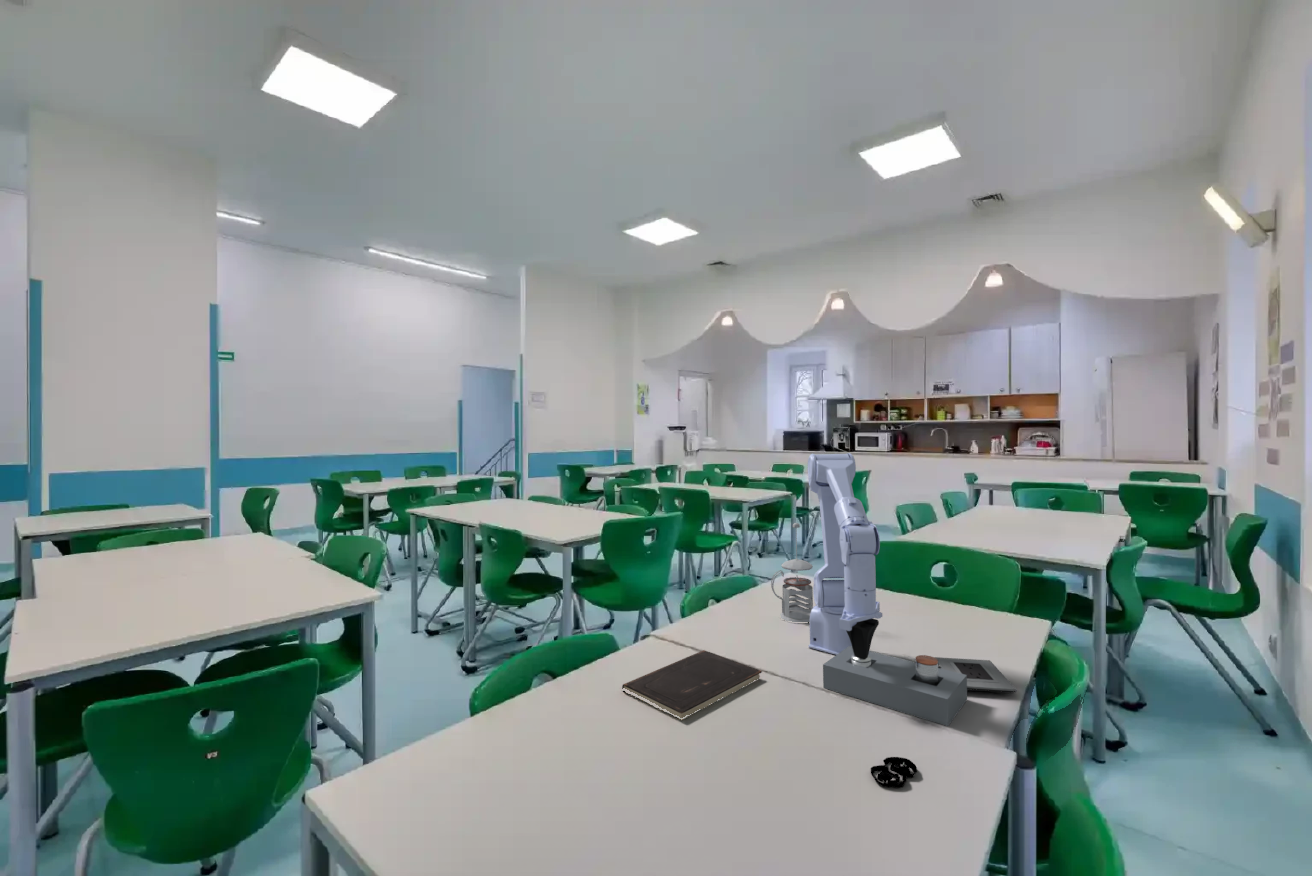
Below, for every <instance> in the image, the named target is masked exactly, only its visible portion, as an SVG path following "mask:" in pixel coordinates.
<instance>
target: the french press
mask: <svg viewBox="0 0 1312 876" xmlns="http://www.w3.org/2000/svg"><path fill="white" fill-rule="evenodd" d="M792 528H794V529H795V552H796V553H795V554H796V555H795V556H796V557H795V558H794V559H790V560H786V561H784V562H783V563H781V567H782V569H785V570H789V571H796V572H798V571H809V570H812V569H813V564H811V562H809V561H806V560H804V559H799V558H798V544H797V543H798V541H797V539H798V538H797V535H798V533H797V530H798V529H799V528H801V525H800V523H799V522H794V523H793V524H792ZM780 574H781V577H783V578H784V575H785V572H783V570H778V571H776V572H775V573H774V574H773V575H772V578H771V581H770V583H771V584H770V585H771V591H772V593H773V594H774V596H775V597H777V598H778V599H780V600H781V613H780V614H779V615H780V616H781V618H782V619H784V620H786V621H792V622H810V614H811V610H812V609H813V607H814V594H813V586H812V585H811V584H812V580H810V579H809V578H805V577H799V576H796V577H795V576H790V577H786V578H784V579H783V580H782V581H783V584H782V596H780V595H778V594H777V593H776V592H775V588H774V586H775V585H774V583H775V580H776V578H777V577H778V575H780ZM790 587H792V588H790ZM788 588H789V589H788ZM793 588H795V589H793ZM796 589H797V590H796ZM786 621H785V622H786Z"/></svg>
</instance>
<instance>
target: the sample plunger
mask: <svg viewBox="0 0 1312 876" xmlns="http://www.w3.org/2000/svg"><path fill="white" fill-rule="evenodd" d="M851 664H855V665H859V666H862V667H866V668H869V667H870V666H871V657H870V656H869V655H868V657H867V658H866V659H861V658H857V657H855V656H854V654H852V655H851Z"/></svg>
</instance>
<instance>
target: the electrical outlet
mask: <svg viewBox="0 0 1312 876" xmlns="http://www.w3.org/2000/svg"><path fill="white" fill-rule="evenodd" d="M933 657H934V656H933ZM934 658H936V659H937V660H938V667H939V668H941V669H945V670H949V671H953V672H957V673H961V674H965V675H967V691H976V692H978V691H979V692H994V693H1007V694H1009V693H1010V694H1012V693H1016V692H1017V691H1018V689H1017V687H1015V685H1014V684H1013V683H1011V681H1010V679H1008V678H1007V677H1006V676H1005V675H1004V674H1003V672H1002V671H1000V669H999V668H998V667H997V666H996V665H995V664H994V663H993V662H992V661H991V660H990V659H989V660H988V659H977V658H975V659H973V658H954V657H940V656H939V657H938V656H937V657H936V656H935V657H934Z"/></svg>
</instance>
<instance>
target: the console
mask: <svg viewBox="0 0 1312 876" xmlns="http://www.w3.org/2000/svg"><path fill="white" fill-rule="evenodd" d="M852 654H854V652H853V648H852V646H848V647H847V648H846V649H844V650H843V651H841V652H840V653H839V654H837V655H834V656H833V657H831V658H830V659H829V660H827V661H826V662H824V663H822V679H823V680H822V682H823V683H822V685H823V689H827V690H829V691H833V692H836V693H839V694H842V695H846V696H848V697H852V698H855V699H859V700H861V701H865V702H869V703H871V704H875V705H878V706H881V707H885V708H888V709H891V710H893V711H896V712H897V711H898V712H900V713H904V714H907V715H910V716H914V717H917V718H920V719H923V720H927V721H929V722H933V723H936V724H939V725H943V726H946V727H948V726H950V724H951V722H952V721H954V719H955V717H956V716H957V714H958V713H959V712H960V710H961V709H962V708H963V706H964V705H965V703H966V702H967V701H968V690H967V675H965V674H961V673H957V672H953V671H949V670H945V669H941V668H940V667H938V685H937V686H933V685H929V684H926V683H922V682H918V681H916V661H915V662H914V661H912V660H908V659H904V658H900V657H895V656H892V655H888V654H883V653H879V652H876V651H871V650H869V654H868V655H869V656H870V657H871V666H870V667H869V668H866V667H862V666H859V665H855V664H851V655H852Z"/></svg>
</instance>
